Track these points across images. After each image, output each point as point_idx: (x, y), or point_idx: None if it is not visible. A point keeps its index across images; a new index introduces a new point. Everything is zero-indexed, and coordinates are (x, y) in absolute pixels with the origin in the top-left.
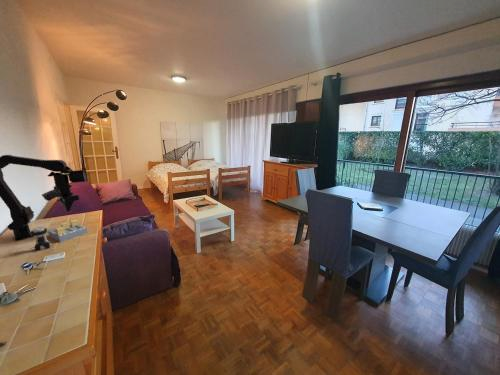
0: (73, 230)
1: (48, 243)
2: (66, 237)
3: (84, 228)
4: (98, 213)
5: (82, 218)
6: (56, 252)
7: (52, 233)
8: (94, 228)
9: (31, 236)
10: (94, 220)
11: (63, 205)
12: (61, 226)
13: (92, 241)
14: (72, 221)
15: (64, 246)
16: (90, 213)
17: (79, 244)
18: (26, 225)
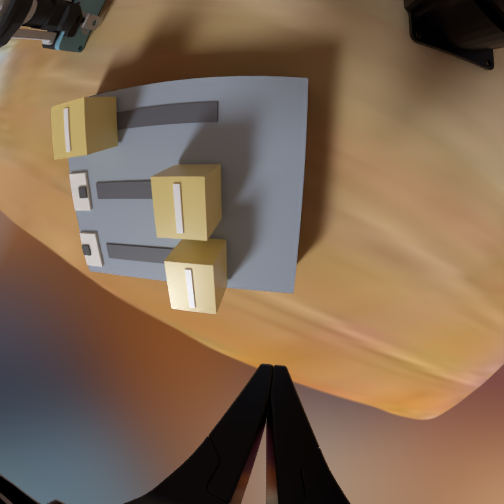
0: (101, 204)
1: (44, 47)
2: None
3: (87, 259)
4: (405, 414)
5: (431, 360)
6: (11, 76)
7: (184, 80)
8: (161, 309)
9: (410, 26)
10: (320, 376)
11: (283, 463)
12: (201, 170)
13: (10, 210)
14: (175, 273)
15: (32, 109)
16: (448, 398)
17: (12, 164)
18: (489, 10)
